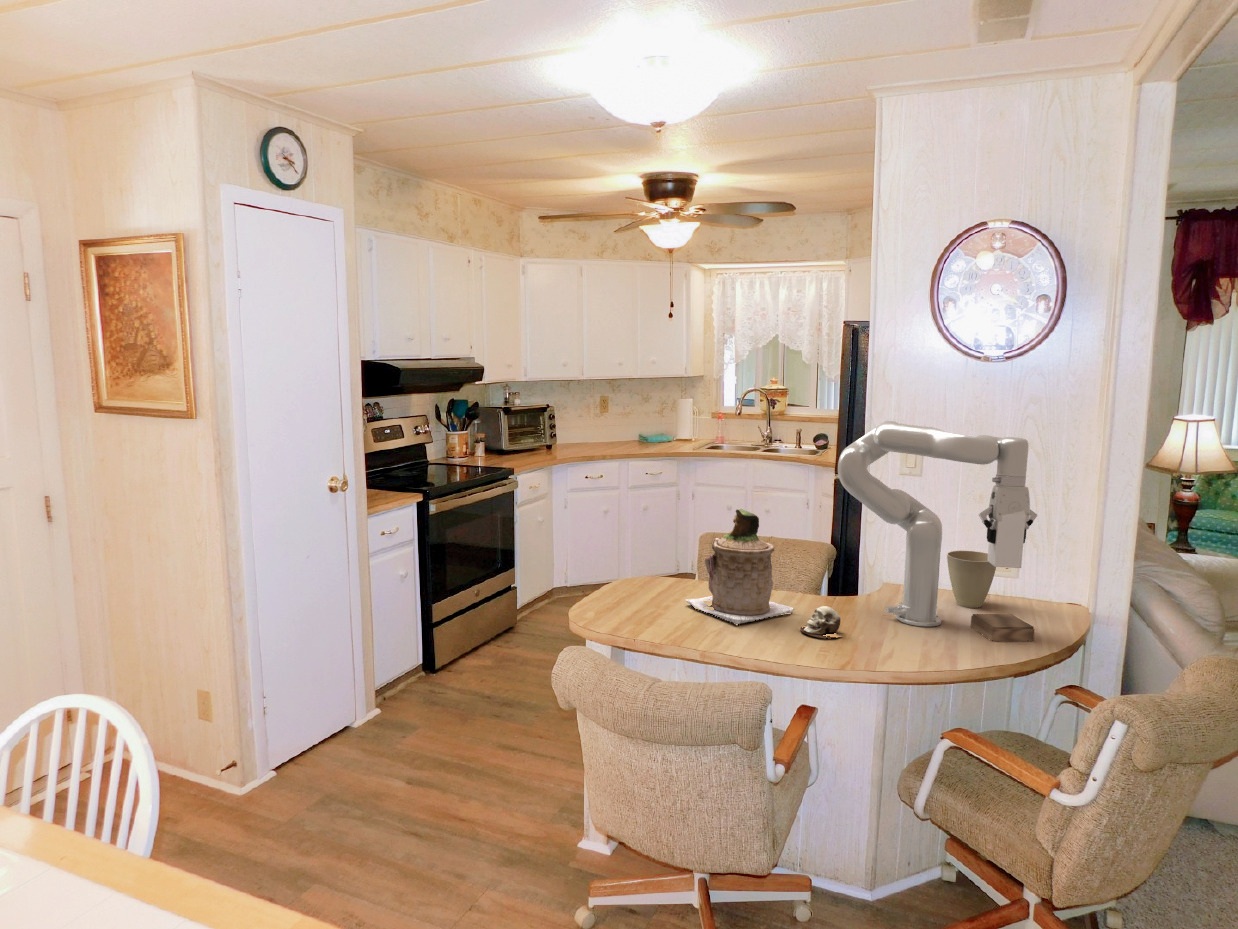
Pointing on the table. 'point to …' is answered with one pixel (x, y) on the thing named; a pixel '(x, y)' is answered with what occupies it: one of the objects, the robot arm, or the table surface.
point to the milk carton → (1008, 541)
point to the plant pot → (970, 577)
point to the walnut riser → (1002, 627)
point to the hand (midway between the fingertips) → (1005, 542)
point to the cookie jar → (741, 575)
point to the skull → (822, 623)
